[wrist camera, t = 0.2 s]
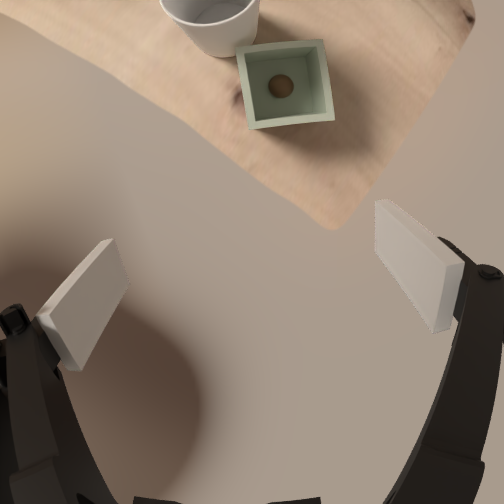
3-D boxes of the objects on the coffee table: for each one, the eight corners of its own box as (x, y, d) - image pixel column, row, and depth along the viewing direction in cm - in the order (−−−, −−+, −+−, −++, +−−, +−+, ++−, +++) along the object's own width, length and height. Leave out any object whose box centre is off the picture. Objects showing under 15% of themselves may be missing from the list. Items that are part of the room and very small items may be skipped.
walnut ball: (265, 77, 34) (267, 74, 31) (290, 74, 34) (293, 71, 31) (269, 99, 35) (271, 99, 32) (293, 97, 35) (297, 96, 32)
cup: (255, 0, 30) (258, -56, 15) (259, 55, 33) (264, 22, 19) (191, 5, 30) (158, -44, 15) (193, 60, 33) (158, 34, 19)
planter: (237, 59, 33) (234, 47, 26) (309, 51, 33) (322, 39, 26) (249, 126, 37) (248, 130, 30) (319, 117, 37) (335, 120, 30)
